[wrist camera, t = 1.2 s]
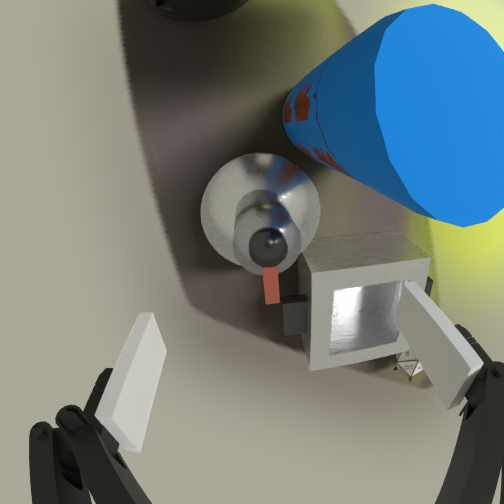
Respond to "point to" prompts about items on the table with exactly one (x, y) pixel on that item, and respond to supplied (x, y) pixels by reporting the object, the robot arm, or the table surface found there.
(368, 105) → the thermos
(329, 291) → the base
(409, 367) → the game die
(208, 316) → the table surface
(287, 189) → the lid
